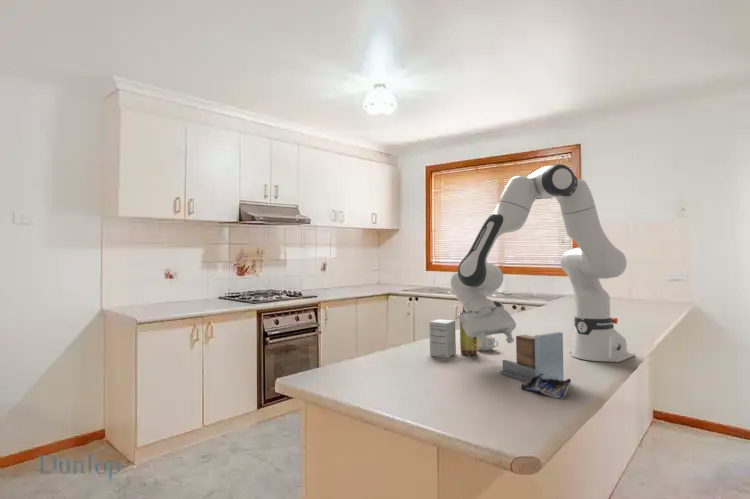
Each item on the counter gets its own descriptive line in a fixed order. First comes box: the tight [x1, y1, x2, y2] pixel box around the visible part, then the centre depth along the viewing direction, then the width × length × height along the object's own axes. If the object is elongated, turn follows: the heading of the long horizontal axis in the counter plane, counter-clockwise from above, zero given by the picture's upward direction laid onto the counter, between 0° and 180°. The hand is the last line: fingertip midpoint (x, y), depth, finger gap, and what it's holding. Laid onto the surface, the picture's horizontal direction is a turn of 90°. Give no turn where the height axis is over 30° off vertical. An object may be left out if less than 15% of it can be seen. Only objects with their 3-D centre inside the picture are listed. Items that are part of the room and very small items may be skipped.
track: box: [499, 331, 565, 383], centre depth 138 cm, size 10×16×14 cm, turn 29°
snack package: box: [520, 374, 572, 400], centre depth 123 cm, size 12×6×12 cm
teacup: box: [477, 334, 499, 352], centre depth 175 cm, size 10×8×5 cm
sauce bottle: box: [459, 307, 478, 356], centre depth 169 cm, size 7×6×20 cm
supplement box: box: [428, 318, 457, 359], centre depth 169 cm, size 7×7×13 cm
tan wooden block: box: [515, 334, 535, 368], centre depth 138 cm, size 4×6×11 cm, turn 29°
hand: (501, 343), depth 148 cm, fingers open, 8 cm apart
